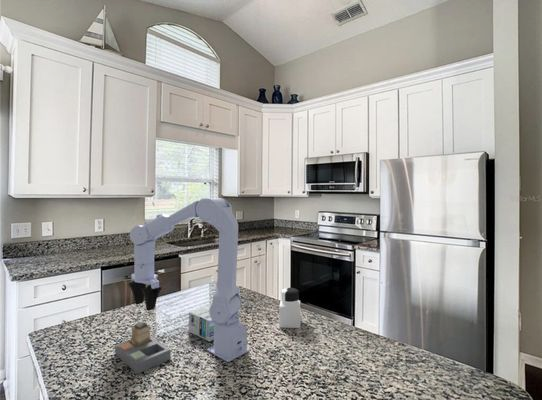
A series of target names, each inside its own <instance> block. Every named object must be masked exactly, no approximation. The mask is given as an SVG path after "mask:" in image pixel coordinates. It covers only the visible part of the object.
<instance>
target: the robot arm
mask: <svg viewBox="0 0 542 400" xmlns="http://www.w3.org/2000/svg"><path fill="white" fill-rule="evenodd" d="M232 207H233V206H232V205H231V203H229V202H228V201H227V200H226V199H224V198H222V197H217V198H215V197H214V198H209V197H204V198H201V199H199V200H195V201H193V202H192V203H190V204H188V205H187V206H185V207H183V208H181V209H179V210H177V211H175V212H174V213H171V214H170V215H168V214H166V213H165V214H162V213H159V214H157V215H156V217H155V218H153V219H152V220H146V221H144V224H142V225H134V227H132V228H131V229H130V231H129V238H130V241H131V243H133V247H134V249H133V253H134V254H133V259H134V261H133V262H134V266H133V267H134V273H132V274H131V277H130V278H131V282H128V283H127V284H128V285H127V286H128V287H129V288H130V290H131V292H132V296H133V299H134V303H135V305H137V306H138V305H141V304H143V303H145V308H146V311H147V312H149V311H151V310H155V307H156V304H157V300H158V297H159V294H160V292H161V290H162V289H163V288H162V285H160V281H159V280H158V279H157V278H158V277H159V275H158V274H155V247H156V241H157V239H158V238H160V237H163V236H165V235H167V234H169V233H171V232H173V231H174V230H175V226H176V225H178V224H180V223H183V222H185V221H187V220H190V219H193V218H199V219H200V220H202V222H205V223H206V224H207V223H208V224H210V225H211V226H212V227H213V228H214V229H215V230H217V232H218V234H219V235H218V254H217V255H218V257H217V280H216V281H217V282H216V283H217V285H216V289H215V292H214V293H213V296H212V303H211V304H210V305H211V306H210V309H209V314H210V317H211V319H212V320H213V321H214V340H213V345H212V346H210V347H208V348H207V351H208V352H210V353H211V354H213V355H215V356H217V357H218V358H220V359H221V360H223V361H225V362H227V363H229V362H231V361H233V360H235V359H237V358H238V357H241V356H242V355H244V354H246V353H249V351H250V348H248V331H247V328H246V326H245V325H244V324H243V323H242V322H241V321H240V316H239V311H240V310H241V308H242V304H243V301H242V298H241V295H240V288H239V287H238V286H237V273H238V272H237V268H238V267H237V266H238V246H239V245H238V244H239V243H238V241H239V223H238V221H237V218H236V217H235V214H234V212H233V208H232ZM144 301H145V302H144Z"/></svg>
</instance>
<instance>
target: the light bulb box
mask: <svg viewBox="0 0 542 400" xmlns="http://www.w3.org/2000/svg"><path fill="white" fill-rule="evenodd" d="M210 306H211V304H209V305H206V306H203V307H200V308H196V309H194V310H191V311H189V312H188V332H189V333H190V334H193V335H195V336H197V337H199V338H201V339H202V340H205V341H207V342H212V341H214V321H213V320H212V319H211V317H210V314H209V309H210Z"/></svg>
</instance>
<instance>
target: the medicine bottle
mask: <svg viewBox="0 0 542 400" xmlns="http://www.w3.org/2000/svg"><path fill="white" fill-rule="evenodd" d="M280 293H281V295H280V297H281V299H280V301H279V306H278V314H279V315H278V324H279V325H278V327H279V328H282V329H301V300H299V299H300V298H299V297H300V295H299V290H298V289H297V288H294V287H285V288H282V290H281V291H280Z"/></svg>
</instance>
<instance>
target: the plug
mask: <svg viewBox="0 0 542 400" xmlns="http://www.w3.org/2000/svg"><path fill="white" fill-rule="evenodd" d="M150 327H151V326H150V325H149V324H148V323H147V322H143V321H141V322H138V323H136V324H134V325H133V326H132V327H131V339H132V345H133V346H135V347H136V348H137V347H139V346H142V345H144V344H147V343H149V342H150V336H151V333H150V332H151V331H150V330H151V329H150Z"/></svg>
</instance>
